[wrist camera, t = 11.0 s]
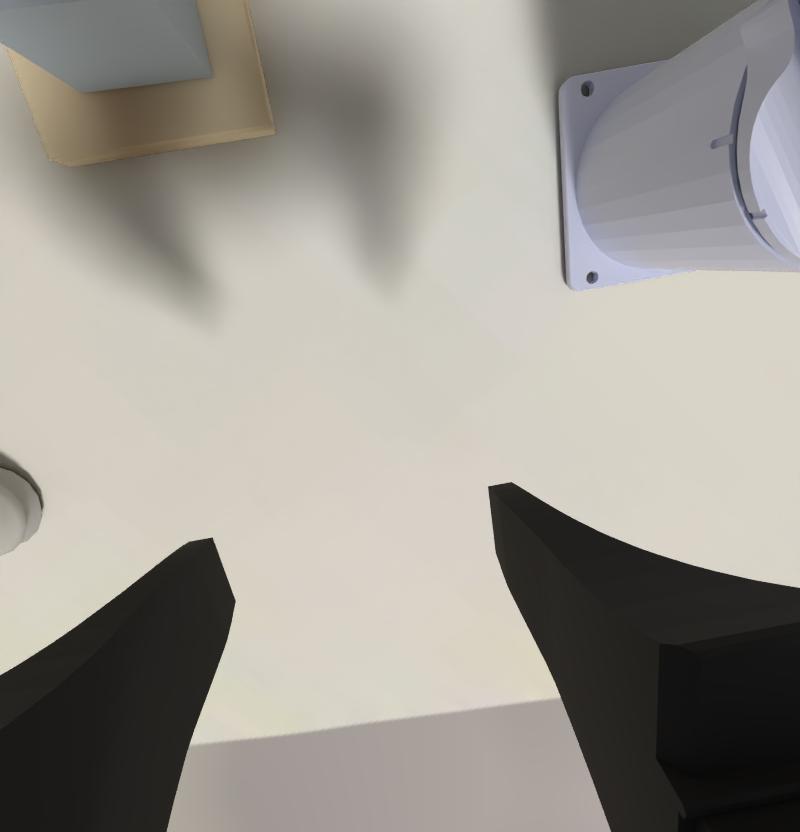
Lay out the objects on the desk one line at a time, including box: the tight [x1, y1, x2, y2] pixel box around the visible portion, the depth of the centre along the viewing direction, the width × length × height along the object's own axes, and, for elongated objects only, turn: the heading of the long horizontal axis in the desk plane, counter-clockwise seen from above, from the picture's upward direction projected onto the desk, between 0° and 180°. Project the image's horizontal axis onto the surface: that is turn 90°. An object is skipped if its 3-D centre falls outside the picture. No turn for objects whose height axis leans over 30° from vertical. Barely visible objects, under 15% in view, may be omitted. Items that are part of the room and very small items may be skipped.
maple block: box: [6, 0, 276, 167], centre depth 16 cm, size 8×8×2 cm
